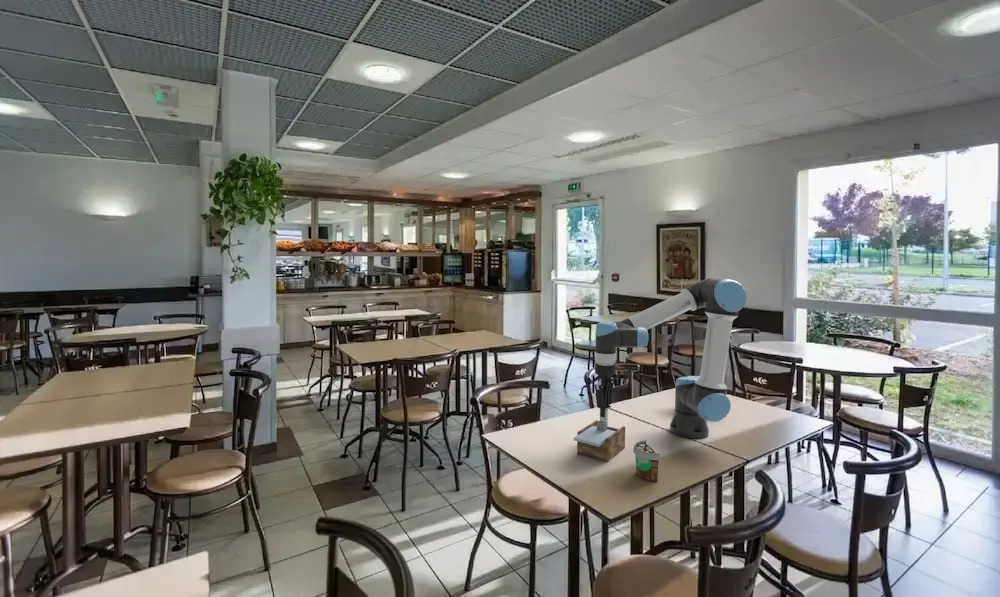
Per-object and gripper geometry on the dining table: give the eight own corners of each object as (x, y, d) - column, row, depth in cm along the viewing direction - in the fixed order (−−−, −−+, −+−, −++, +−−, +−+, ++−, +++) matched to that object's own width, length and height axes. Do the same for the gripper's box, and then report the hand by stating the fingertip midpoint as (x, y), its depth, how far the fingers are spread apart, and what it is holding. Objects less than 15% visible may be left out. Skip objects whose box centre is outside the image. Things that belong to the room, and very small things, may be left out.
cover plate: (592, 428, 189) (592, 418, 188) (616, 434, 183) (616, 423, 182) (573, 440, 177) (573, 429, 176) (598, 446, 171) (598, 435, 171)
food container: (627, 468, 170) (628, 440, 169) (644, 467, 170) (645, 439, 169) (640, 484, 158) (641, 454, 157) (659, 484, 158) (659, 454, 157)
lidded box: (596, 440, 195) (596, 420, 194) (624, 448, 187) (625, 426, 187) (577, 454, 182) (577, 431, 181) (607, 462, 175) (607, 439, 174)
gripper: (603, 359, 191) (602, 418, 193) (588, 365, 180) (586, 427, 183) (621, 361, 186) (620, 422, 189) (607, 368, 176) (605, 431, 178)
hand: (603, 424), depth 186 cm, fingers closed
